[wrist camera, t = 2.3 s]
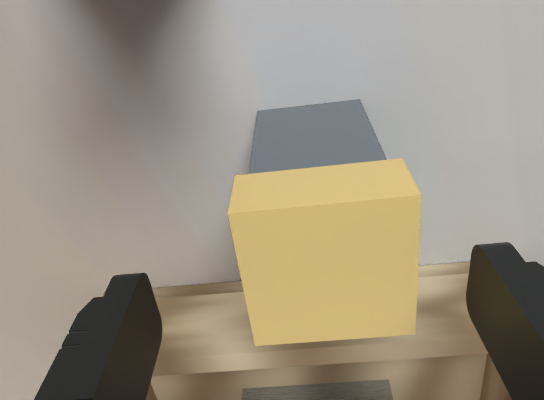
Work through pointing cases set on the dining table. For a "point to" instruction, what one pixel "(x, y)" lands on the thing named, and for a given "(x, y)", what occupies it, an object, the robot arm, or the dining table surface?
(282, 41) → the dining table surface
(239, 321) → the walled box
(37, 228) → the dining table surface
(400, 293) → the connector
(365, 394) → the frame
